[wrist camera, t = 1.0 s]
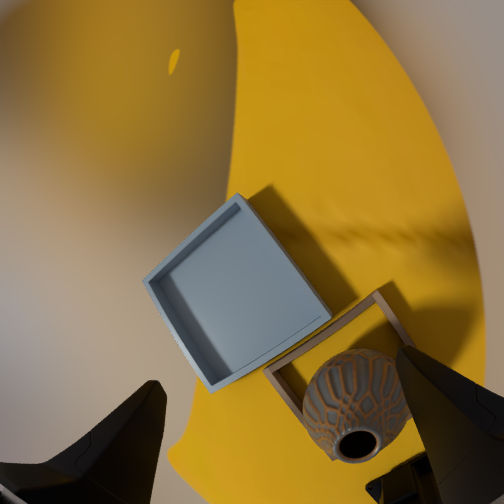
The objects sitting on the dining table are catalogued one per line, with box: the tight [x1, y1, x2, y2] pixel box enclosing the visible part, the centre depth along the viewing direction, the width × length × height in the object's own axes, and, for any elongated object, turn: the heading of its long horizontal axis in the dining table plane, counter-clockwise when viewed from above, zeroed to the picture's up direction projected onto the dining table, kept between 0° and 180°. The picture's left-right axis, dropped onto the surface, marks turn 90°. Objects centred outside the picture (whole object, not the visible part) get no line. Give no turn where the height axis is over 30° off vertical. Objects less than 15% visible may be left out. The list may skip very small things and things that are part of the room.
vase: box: [303, 348, 410, 463], centre depth 14 cm, size 7×7×9 cm
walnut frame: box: [263, 290, 417, 461], centre depth 17 cm, size 10×10×1 cm
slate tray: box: [143, 193, 333, 394], centre depth 20 cm, size 11×11×2 cm
